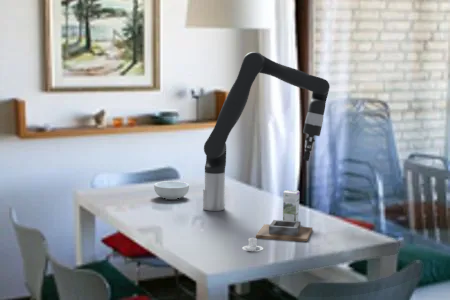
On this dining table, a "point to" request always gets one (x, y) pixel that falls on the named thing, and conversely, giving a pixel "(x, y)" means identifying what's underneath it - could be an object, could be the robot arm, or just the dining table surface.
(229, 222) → the dining table surface
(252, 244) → the teacup and saucer
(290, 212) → the syrup box
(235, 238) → the dining table surface
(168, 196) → the cereal bowl
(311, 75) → the robot arm
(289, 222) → the collar board
